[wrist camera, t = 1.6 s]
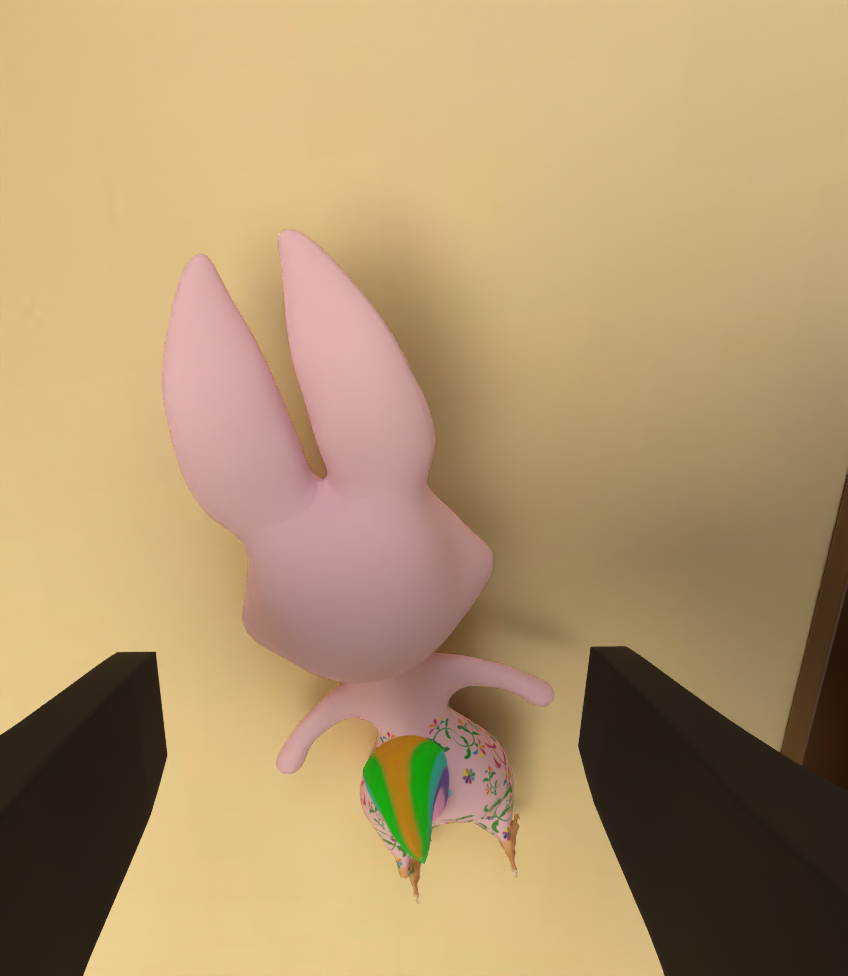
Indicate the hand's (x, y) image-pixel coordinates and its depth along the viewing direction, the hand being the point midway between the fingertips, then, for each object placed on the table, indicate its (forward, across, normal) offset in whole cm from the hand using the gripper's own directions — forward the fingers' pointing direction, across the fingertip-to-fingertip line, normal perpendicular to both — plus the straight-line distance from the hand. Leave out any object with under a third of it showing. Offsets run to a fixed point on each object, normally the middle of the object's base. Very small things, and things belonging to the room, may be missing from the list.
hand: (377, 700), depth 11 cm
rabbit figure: (+5, 0, 0) cm, 5 cm away
